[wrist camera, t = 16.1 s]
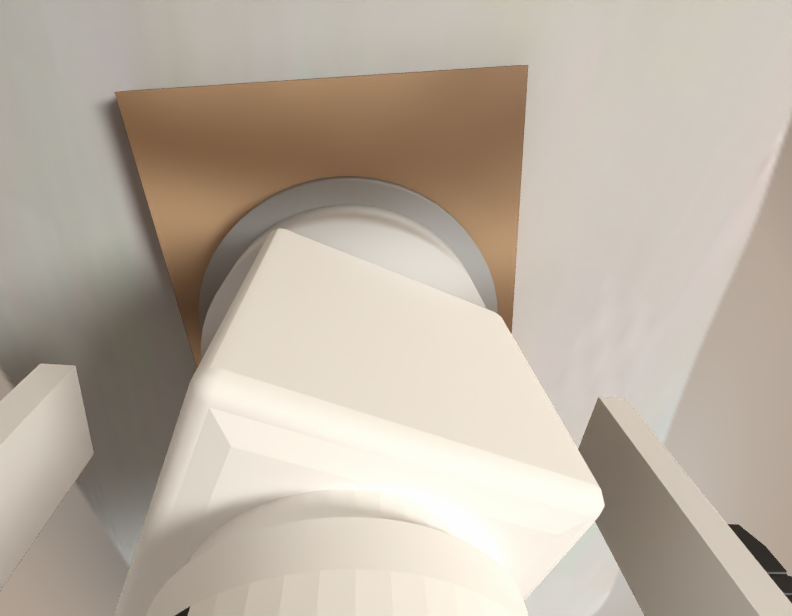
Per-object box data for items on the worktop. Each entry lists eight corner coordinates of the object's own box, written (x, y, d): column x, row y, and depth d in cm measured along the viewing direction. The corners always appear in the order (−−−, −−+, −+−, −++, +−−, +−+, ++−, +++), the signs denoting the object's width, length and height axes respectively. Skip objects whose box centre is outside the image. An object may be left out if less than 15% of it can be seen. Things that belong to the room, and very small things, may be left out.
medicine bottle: (404, 475, 17) (482, 1162, 6) (203, 418, 15) (-156, 1239, 5) (504, 311, 14) (942, 1038, 4) (274, 220, 12) (-216, 1111, 2)
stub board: (129, 90, 14) (54, 98, 11) (517, 65, 15) (568, 64, 11) (239, 473, 22) (215, 553, 18) (497, 448, 22) (524, 521, 19)
